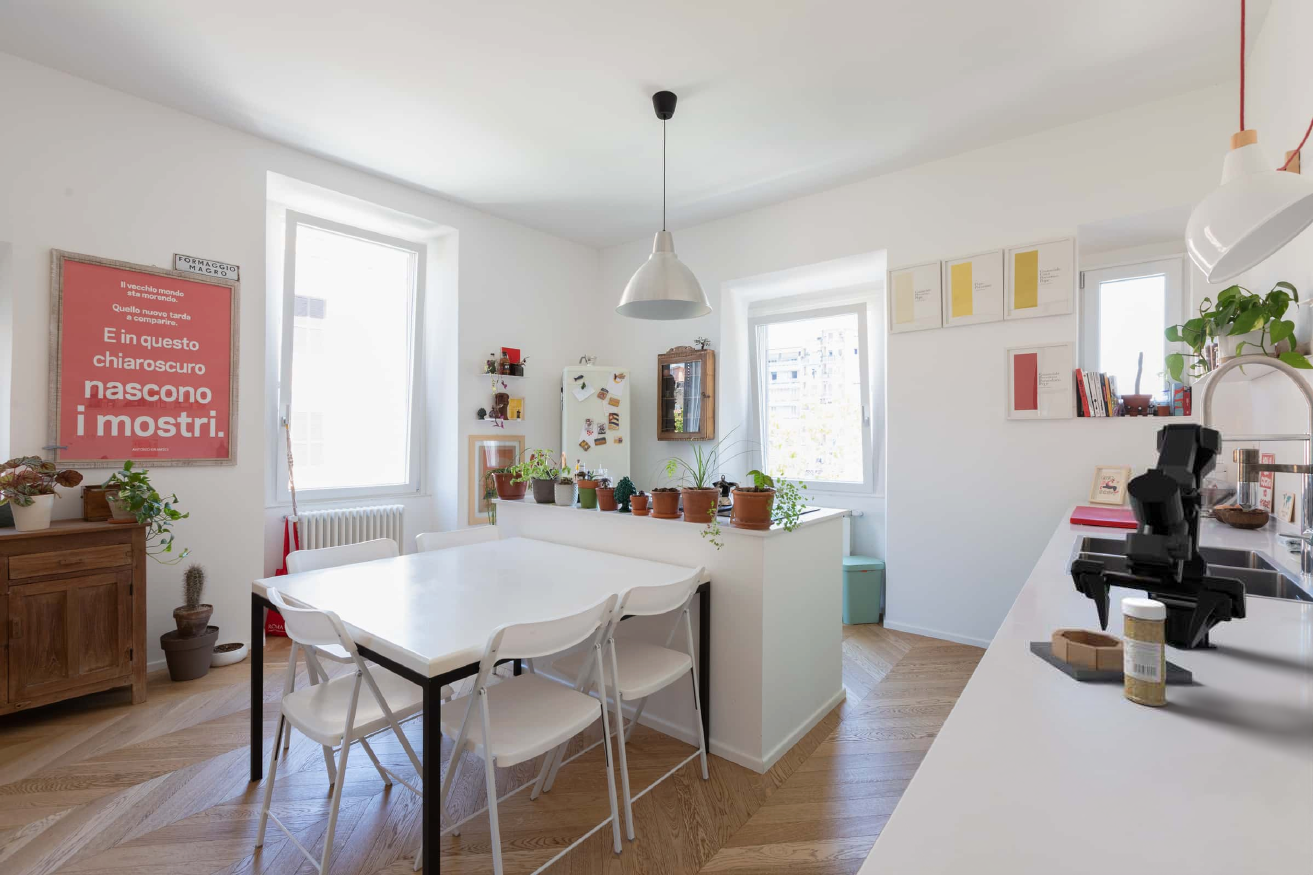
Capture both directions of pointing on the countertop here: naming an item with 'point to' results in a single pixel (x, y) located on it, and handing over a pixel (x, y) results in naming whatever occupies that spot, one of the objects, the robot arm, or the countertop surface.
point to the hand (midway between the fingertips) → (1144, 637)
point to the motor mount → (1094, 656)
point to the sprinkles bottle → (1144, 651)
